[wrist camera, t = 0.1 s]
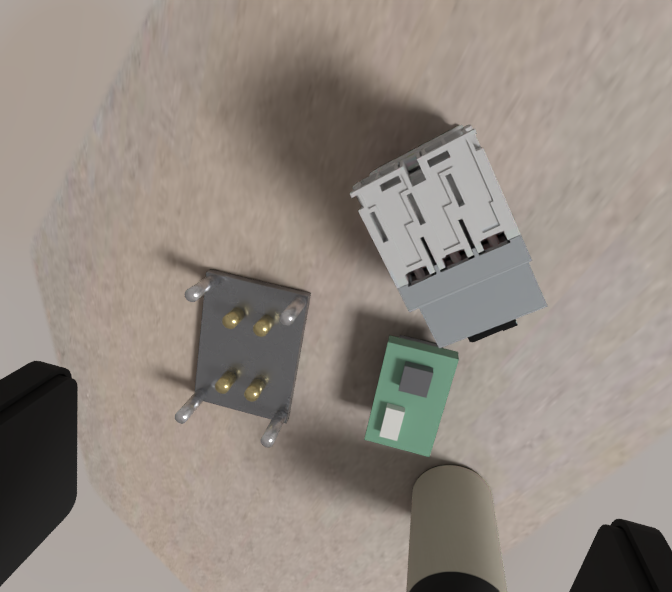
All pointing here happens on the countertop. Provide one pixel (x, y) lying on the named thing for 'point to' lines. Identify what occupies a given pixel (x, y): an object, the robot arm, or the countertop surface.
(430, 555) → the travel mug
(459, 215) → the circuit breaker
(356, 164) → the countertop surface
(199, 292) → the chassis
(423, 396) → the board
